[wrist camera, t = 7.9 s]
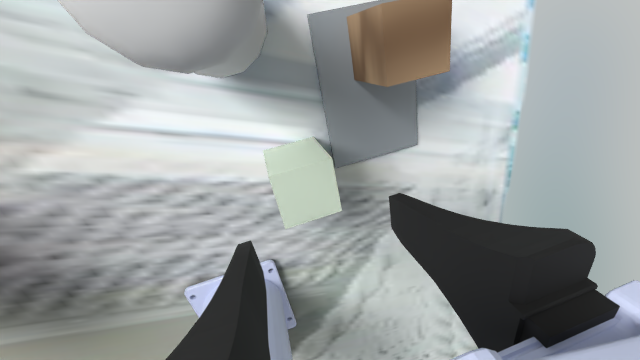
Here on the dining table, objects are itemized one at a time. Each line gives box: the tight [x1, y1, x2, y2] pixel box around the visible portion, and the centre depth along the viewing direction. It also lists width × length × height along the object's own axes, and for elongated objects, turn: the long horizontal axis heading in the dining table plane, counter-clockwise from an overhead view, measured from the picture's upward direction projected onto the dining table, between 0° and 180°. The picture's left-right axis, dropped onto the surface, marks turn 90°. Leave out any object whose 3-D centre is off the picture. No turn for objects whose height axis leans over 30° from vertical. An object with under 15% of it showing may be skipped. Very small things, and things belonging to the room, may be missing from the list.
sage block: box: [263, 137, 342, 229], centre depth 19 cm, size 4×4×5 cm
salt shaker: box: [58, 0, 267, 78], centre depth 10 cm, size 6×6×13 cm
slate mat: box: [307, 0, 417, 168], centre depth 20 cm, size 11×8×1 cm
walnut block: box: [347, 0, 452, 87], centre depth 17 cm, size 4×4×5 cm
